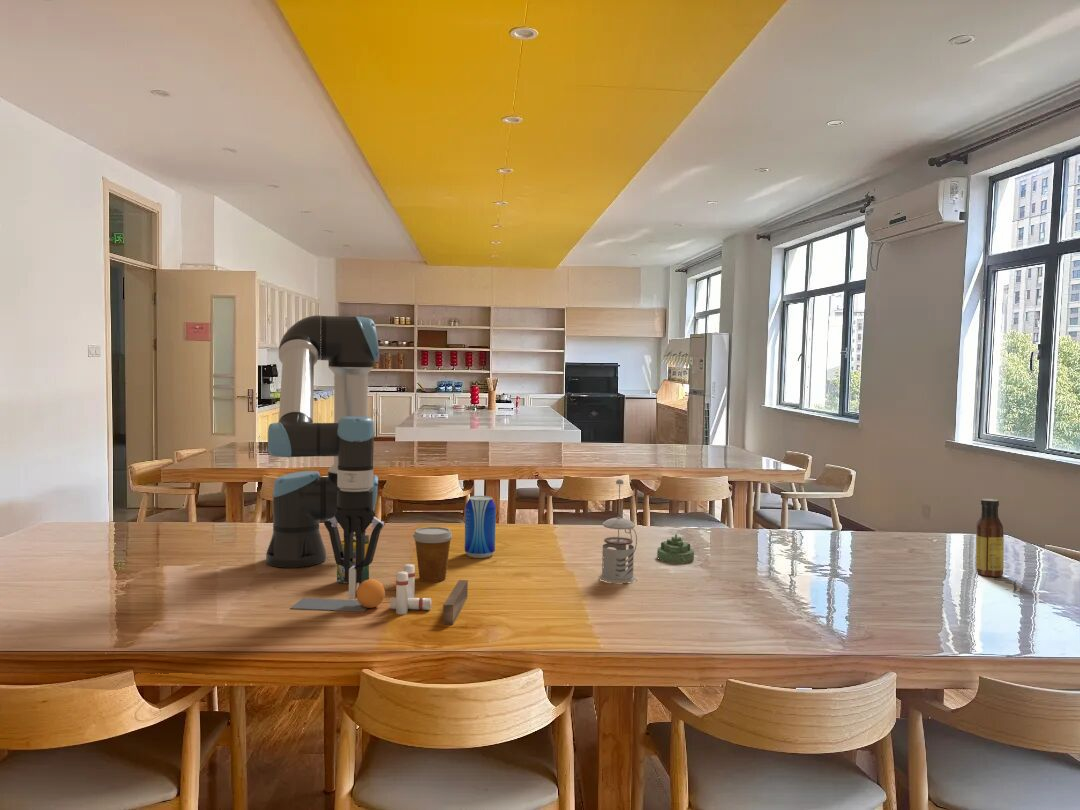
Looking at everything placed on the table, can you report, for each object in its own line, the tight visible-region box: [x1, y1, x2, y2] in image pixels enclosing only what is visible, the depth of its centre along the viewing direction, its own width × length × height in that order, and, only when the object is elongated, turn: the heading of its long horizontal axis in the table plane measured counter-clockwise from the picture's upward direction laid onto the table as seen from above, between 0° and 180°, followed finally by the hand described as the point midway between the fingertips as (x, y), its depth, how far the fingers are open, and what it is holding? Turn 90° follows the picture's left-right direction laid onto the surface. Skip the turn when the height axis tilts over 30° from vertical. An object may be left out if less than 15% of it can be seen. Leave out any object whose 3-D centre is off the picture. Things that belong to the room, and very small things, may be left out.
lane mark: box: [290, 597, 368, 613], centre depth 165 cm, size 16×7×1 cm, turn 86°
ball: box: [356, 578, 386, 609], centre depth 165 cm, size 6×6×6 cm
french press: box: [598, 478, 638, 584], centre depth 190 cm, size 10×12×25 cm
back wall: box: [442, 579, 469, 625], centre depth 163 cm, size 2×18×4 cm, turn 176°
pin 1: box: [395, 570, 409, 616], centre depth 161 cm, size 2×2×8 cm
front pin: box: [389, 596, 432, 611], centre depth 164 cm, size 2×2×8 cm
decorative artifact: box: [656, 533, 695, 564], centre depth 211 cm, size 10×7×10 cm
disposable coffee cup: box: [412, 526, 453, 583], centre depth 187 cm, size 10×10×12 cm
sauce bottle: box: [975, 498, 1005, 578], centre depth 200 cm, size 7×6×20 cm
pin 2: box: [402, 563, 416, 598], centre depth 167 cm, size 2×2×8 cm
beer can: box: [464, 495, 497, 559], centre depth 211 cm, size 8×8×16 cm
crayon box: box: [336, 533, 370, 585], centre depth 182 cm, size 7×3×12 cm, turn 70°
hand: (353, 597), depth 165 cm, fingers closed
